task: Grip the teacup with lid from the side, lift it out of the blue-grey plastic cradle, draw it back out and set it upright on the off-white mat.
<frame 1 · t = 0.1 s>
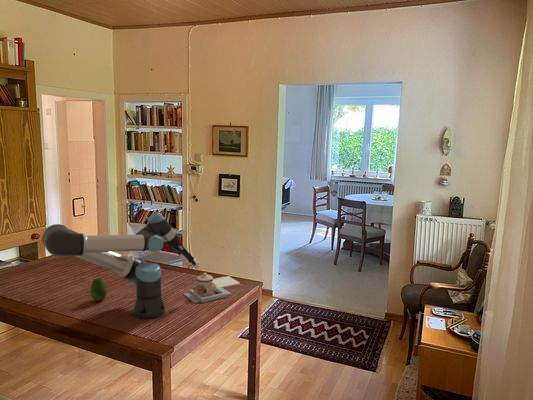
hand: (192, 265, 220), 15 cm above the table, tool tilted 35°, fingers open, 13 cm apart
avocado: (99, 300, 209), on the table
teacup with lid: (207, 294, 220), on the table
mat: (223, 283, 237), on the table
cradle: (207, 294, 220), on the table
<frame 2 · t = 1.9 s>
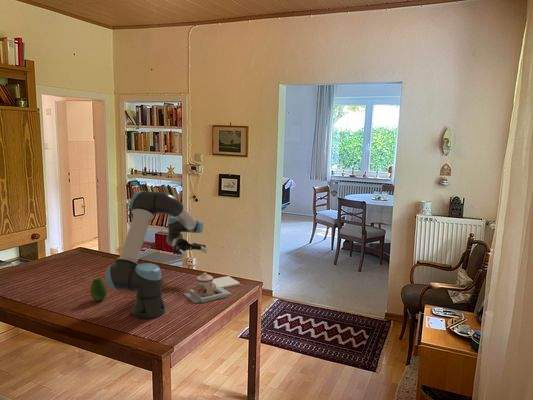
hand: (195, 252, 229), 20 cm above the table, tool horizontal, fingers open, 13 cm apart
nothing on the table moved.
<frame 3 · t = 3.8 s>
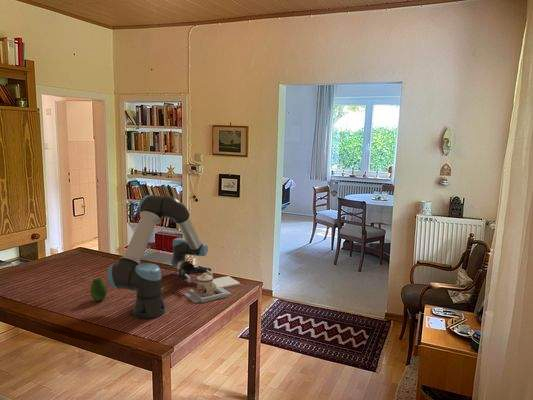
hand: (201, 277, 225), 7 cm above the table, tool horizontal, fingers open, 13 cm apart
nothing on the table moved.
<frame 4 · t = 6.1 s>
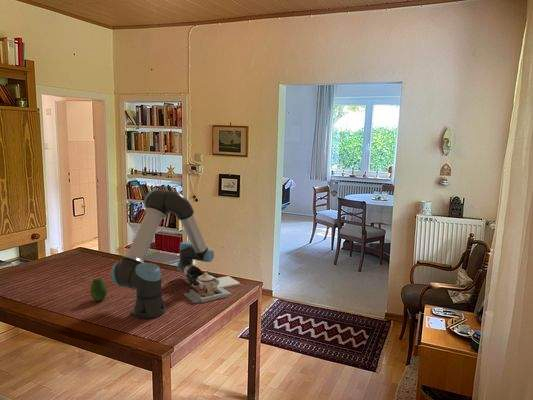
hand: (210, 284, 215), 7 cm above the table, tool horizontal, fingers closed on teacup with lid, 9 cm apart
teacup with lid: (207, 294, 220), on the table, touching gripper
everything else where it was.
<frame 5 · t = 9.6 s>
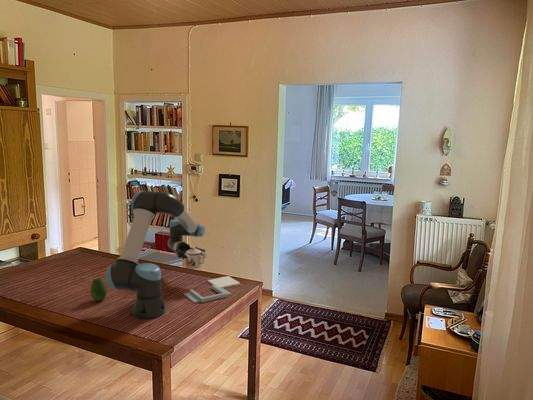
hand: (197, 257, 226), 18 cm above the table, tool horizontal, fingers closed on teacup with lid, 9 cm apart
teacup with lid: (195, 267, 231), point 11 cm above the table, touching gripper
everything else where it was.
when the fingers open (9 cm above the table, at t = 13.2 s): teacup with lid stays where it is, resting on mat.
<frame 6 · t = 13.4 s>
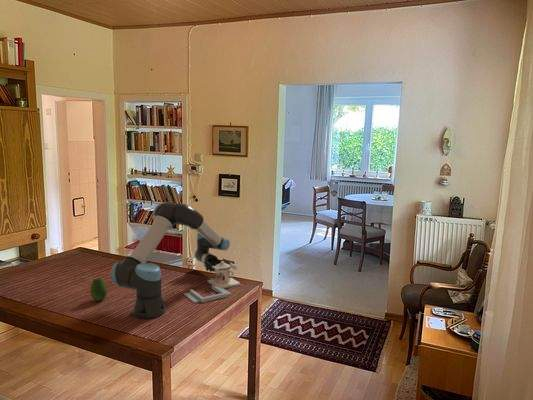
hand: (227, 269, 232), 9 cm above the table, tool horizontal, fingers open, 11 cm apart
teacup with lid: (224, 281, 237), point 1 cm above the table, touching mat
everything else where it was.
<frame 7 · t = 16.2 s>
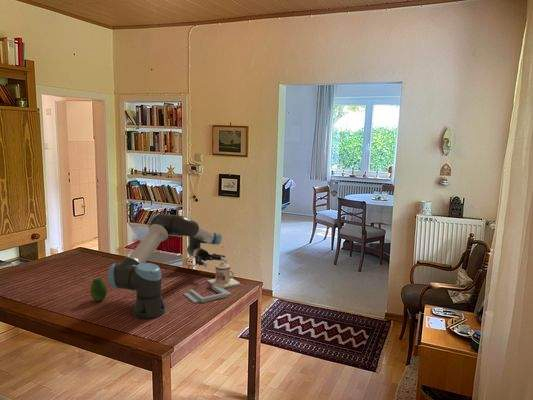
hand: (216, 263, 243), 10 cm above the table, tool horizontal, fingers open, 13 cm apart
nothing on the table moved.
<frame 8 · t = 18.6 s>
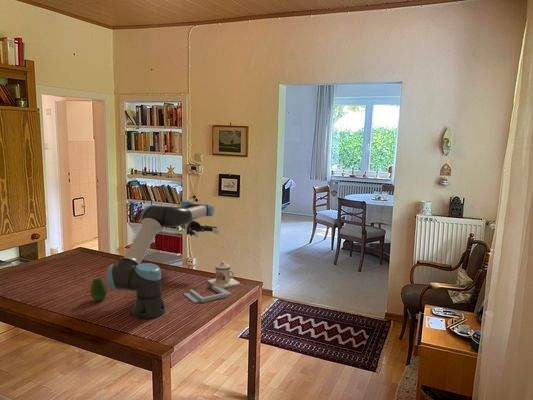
hand: (207, 233, 241), 28 cm above the table, tool horizontal, fingers open, 13 cm apart
nothing on the table moved.
at the end: teacup with lid inside the target area on the mat (0.7 cm from its centre), point 0.8 cm above the mat's base; teacup with lid tilted 0°; the gripper is holding nothing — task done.
